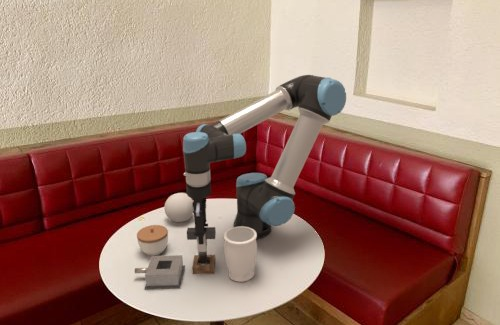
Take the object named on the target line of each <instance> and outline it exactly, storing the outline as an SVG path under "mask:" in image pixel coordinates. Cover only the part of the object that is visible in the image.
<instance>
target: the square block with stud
mask: <svg viewBox="0 0 500 325" xmlns="http://www.w3.org/2000/svg"><path fill="white" fill-rule="evenodd" d="M183 258H184V257H183V255H179V254H177V255H155V256H151V258H150V261H149V264H148V266H147V267H136V268H134V273H135V274H144V277H145V278H144V279H145V285H144V290H170V289H171V290H174V289H175V290H176V289H181V286H182V282H183V279H184V278H183V277H184V274H185V270H186V265H184V261H183V260H184V259H183Z"/></svg>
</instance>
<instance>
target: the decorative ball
mask: <svg viewBox="0 0 500 325" xmlns="http://www.w3.org/2000/svg"><path fill="white" fill-rule="evenodd" d="M193 201H194V199H193V198H190V197H189V196H188V195H187V192H177V193H174V194H171V195H170V196H168V198H167V199H166V201H165V202H164V207H163V208H164V213H165V215H166V217H167V218H168V219H169V220H170V221H171V222H174V223H184V222H186V221H188V220H189V219H190V218H191V217H192V216H193V215H194V213H193V211H194V208H193Z"/></svg>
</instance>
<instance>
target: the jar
mask: <svg viewBox="0 0 500 325" xmlns="http://www.w3.org/2000/svg"><path fill="white" fill-rule="evenodd" d="M256 238H257V233H256V231H255V230H254V229H252V228H249V227H244V226H239V227H230V228H229V229H227V230H225V232H224V233H223V239H224V247H223V249H224V250H223V251H224V252H223V253H224V258H225V262H226V266H227V269H228V277H229V278H230V279H231V280H233V281H235V282H240V283H244V282H247V281H250V280H251V279H252V278H254V276H255V271H254V269H255V266H256V263H257V262H256V261H257V257H258V242H257V239H256Z"/></svg>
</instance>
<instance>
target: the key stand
mask: <svg viewBox="0 0 500 325" xmlns="http://www.w3.org/2000/svg"><path fill="white" fill-rule="evenodd" d="M215 265H216V254H207V262H205V263H200V262H199V254H194V256H193V261H192V267H191V270H192V275H208V274H209V275H210V274H213V275H214V274H215Z"/></svg>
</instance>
